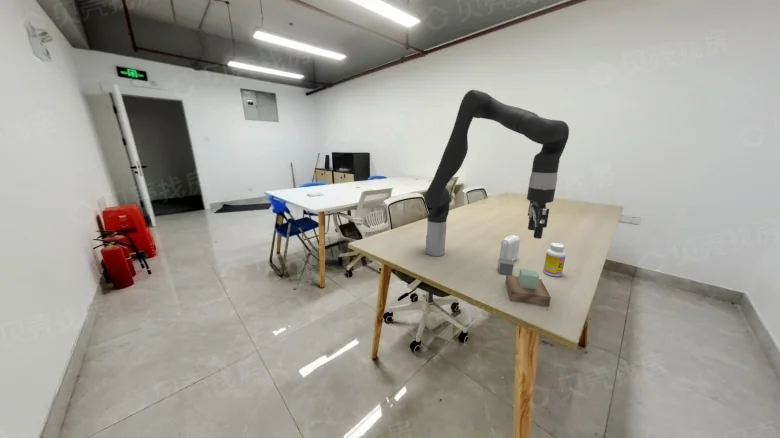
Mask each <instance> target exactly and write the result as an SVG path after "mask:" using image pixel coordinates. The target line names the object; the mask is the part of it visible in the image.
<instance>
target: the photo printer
mask: <svg viewBox="0 0 780 438" xmlns="http://www.w3.org/2000/svg"><path fill="white" fill-rule="evenodd" d="M520 244H521V238H520V236H518V235H513V234H512V235H507V236H506V237H505V238H504V239H502V241H501V243H500V250H499V258H502V259H511V260H512V262H513V263H514V262H515V261H517V260H518V259H519V258H518V257H519V250H520Z"/></svg>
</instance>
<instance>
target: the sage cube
mask: <svg viewBox="0 0 780 438" xmlns="http://www.w3.org/2000/svg"><path fill="white" fill-rule="evenodd" d="M518 277H519V279H518V281H519V284H520V286H521V288H528V289H535V290H537V285H538V280H539V279H540V276H539V274H538V272H537V270H536V269H528V268H527V269H526V268H519V274H518Z"/></svg>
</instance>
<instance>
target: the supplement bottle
mask: <svg viewBox="0 0 780 438" xmlns="http://www.w3.org/2000/svg"><path fill="white" fill-rule="evenodd" d="M564 250H565V245H564V244H562V243H557V242H551V244H550V248H548V249H547V250H546V252H545V259H544V264H543V265H544V266H543V269H542V270H543V272H544V274H546V275H548V276H551V277H561V276H562V275H563V270H564V266H565V260H566V255H567V253H566V252H565V251H564Z"/></svg>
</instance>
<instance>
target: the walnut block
mask: <svg viewBox="0 0 780 438" xmlns="http://www.w3.org/2000/svg"><path fill="white" fill-rule="evenodd" d="M518 279H519V275H518V276H516V275H506V274H505V287H506V291H507V294H508V299H509V301H510V302H511V301H512V302H518V303H524V304H530V305H538V306H545V307H550V303H551V294H550V293H549V291H548V289H547V288H546V285H545V284H544V282H543V280H542V279H541V278H539V280H538V285H537V290H535V289H528V288H521V286H520V284H519V281H518Z"/></svg>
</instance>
